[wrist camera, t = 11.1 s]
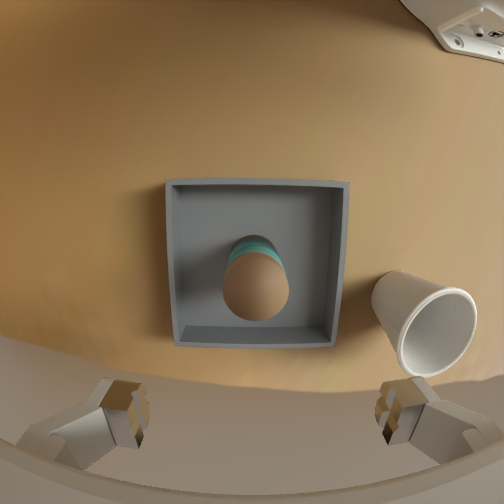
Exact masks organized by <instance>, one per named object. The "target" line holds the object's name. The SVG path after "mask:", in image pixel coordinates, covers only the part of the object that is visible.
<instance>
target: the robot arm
mask: <svg viewBox="0 0 504 504" xmlns="http://www.w3.org/2000/svg"><path fill="white" fill-rule="evenodd" d="M400 1H401V2H402V3H403V4H404V5H405V7H406V8H407V9H408V10H409V11H410V12H411V13H412V14H414V15H415V16H416V17H417V18H418V19H419V20H420V21H422V22H423V23H424V24H425V25H426V26H427V27H428V28H429V29H430V30H431V31H432V33H433V34H434V35H435V37H436V38H437V40H438V41H439V43H440V44H441V45H442V46H443V48H444V49H446V50H447V51H449V52H453V53H459V54H465V55H470V56H475V57H480V58H485V59H489V60H493V61H498V62H502V63H504V0H400ZM455 42H456V43H457V44H456V43H455ZM380 393H381V395H382V396H381V397H380V398H379V399H378V400H377V402H376V406H375V418H376V421H377V423H378V425H379V426H381V427H383V428H384V429H383V432H382V434H383V436H384V438H385V440H386V443H387V445H394V444H399V443H404V442H409V443H411V444H412V445H413V446H415V447H416V448H417V449H419V450H420V451H422V452H423V453H424V454H426V455H427V456H429V457H430V458H432V459H433V460H435V461H436V462H438V463H439V464H440V465H438V466H435V467H433V468H429V469H426V470H422V471H419V472H416V473H412V474H408V475H405V476H401V477H397V478H393V479H389V480H385V481H380V482H375V483H371V484H365V485H360V486H354V487H348V488H341V489H335V490H327V491H318V492H309V493H297V494H280V495H279V494H278V495H227V494H208V493H197V492H186V491H179V490H171V489H164V488H157V487H151V486H146V485H140V484H135V483H130V482H126V481H120V480H117V479H112V478H108V477H104V476H101V475H97V474H93V473H90V472H86V471H84V470H85V469H87V468H88V467H89V466H91V465H92V464H93V463H95V462H96V461H98V460H99V459H100V458H102V457H103V456H104V455H106V454H107V453H108V452H110V451H111V450H112V449H114V448H115V447H116V446H122V447H128V448H135V449H139V448H140V445H141V442H142V440H143V437H144V435H143V431H142V430H144V429H145V428H147V426H148V424H149V419H150V407H149V403H148V402H147V401H146V400H145V399H144V397H145V395H146V389H145V386H144V385H143V384H142V383H135V382H129V381H123V380H115V379H110V378H102V379H101V380H100V381H99V383H98V384H97V386H96V387H95V389H94V390H93V392H92V393H91V395H90V396H89V398H88V399H87V401H86V402H85V404H83V403H80V404H78V405H75V406H73V407H71V408H69V409H67V410H64V411H62V412H60V413H57V414H55V415H53V416H51V417H48V418H46V419H44V420H41V421H39V422H37V423H35V424H32V425H30V426H29V427H28V429H27V430H26V431H25V433H24V434H23V435H22V437H21V438H20V439H19V441H18V442H17V443H16V445H13V444H11V443H9V442H7V441H5V440H3V439H1V438H0V504H504V433H503V431H502V430H501V429H500V428H499V426H498V425H497V424H496V423H495V422H494V421H493V419H490V418H488V417H485V416H483V415H480V414H478V413H475V412H473V411H470V410H468V409H466V408H463V407H461V406H458V405H456V404H454V403H451V402H449V401H447V400H440V399H439V397H438V396H437V395H436V393H435V392H434V391H433V390H432V388H431V387H430V386H429V384H428V383H427V382H426V381H425V379H424V378H423V377H422V376H416V377H410V378H407V379H401V380H394V381H388V382H383V384H382V385H381V388H380Z"/></svg>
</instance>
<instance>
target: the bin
mask: <svg viewBox="0 0 504 504" xmlns="http://www.w3.org/2000/svg"><path fill="white" fill-rule="evenodd" d="M349 184H350V182H340V181H322V180H300V179H266V178H191V179H165V190H166V234H167V257H168V275H169V290H170V303H171V315H172V326H173V336H174V346H184V347H204V348H239V349H284V348H319V347H335V344H336V337H337V330H338V322H339V314H340V306H341V297H342V288H343V278H344V267H345V256H346V242H347V227H348V209H349ZM248 235H260V236H263V237H265V238H267V239H268V240H270V241H271V242H272V243H273V245H274V246H275V248H276V250H277V252H278V255H279V257H280V260H281V262H282V265H283V268H284V270H285V273H286V278H287V281H288V285H289V295H288V299H287V301H286V304H285V305H284V307H283V308H282V309H281V311H280V312H279V313H277V314H276V315H275V316H273V317H271V318H269V319H266V320H262V321H249V320H245V319H242V318H240V317H238V316H236V315H235V314H234V313H233V312H232V311H231V310H230V309H229V308H228V307H227V305H226V303H225V301H224V298H223V292H222V290H223V282H224V276H225V271H226V268H227V264H228V260H229V256H230V254H231V251H232V248H233V246H234V245H235V243H236V242H237V241H238V240H240V239H241V238H243V237H245V236H248Z"/></svg>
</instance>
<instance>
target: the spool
mask: <svg viewBox="0 0 504 504" xmlns="http://www.w3.org/2000/svg"><path fill="white" fill-rule="evenodd" d="M222 292H223V298H224V301H225V303H226V305H227V307H228V308H229V309H230V310H231V311H232V312H233V313H234V314H235V315H236V316H238V317H240V318H242V319H245V320H249V321H262V320H266V319H269V318H271V317H273V316H275V315H276V314H277V313H279V312H280V311H281V309H282V308H283V307H284V305H285V304H286V301H287V299H288V295H289V285H288V281H287V278H286V273H285V270H284V268H283V265H282V262H281V260H280V257H279V255H278V252H277V250H276V248H275V246H274V245H273V243H272V242H271V241H270V240H268V239H267V238H265V237H263V236H260V235H248V236H245V237H243V238H241V239H240V240H238V241H237V242H236V243H235V245H234V246H233V248H232V251H231V254H230V256H229V260H228V264H227V268H226V271H225V276H224V282H223V290H222Z"/></svg>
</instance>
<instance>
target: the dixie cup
mask: <svg viewBox="0 0 504 504" xmlns="http://www.w3.org/2000/svg"><path fill="white" fill-rule="evenodd" d="M371 305H372V308H373V310H374V312H375V314H376V316H377V318H378V319H379V321H380V323H381V325H382V327H383V329H384V331H385V333H386V334H387V336H388V338H389V340H390V342H391V344H392V346H393V348H394V350H395V352H396V354H397V359H398V363H399V365H400V367H401V368H402V369H403V371H404V372H406V373H407V374H408V375H410V376H413V377H416V376H422V377H423V378H427V377H432V376H435V375H437V374H440V373H442V372H443V371H445V370H447V369H448V368H450V367H451V366H452V365H453V364H454V363H456V362H457V361H458V360H459V358H460V357H461V356H462V355H463V354H464V352H465V351H466V349H467V348H468V346H469V344H470V342H471V340H472V338H473V335H474V332H475V328H476V322H477V311H476V306H475V303H474V301H473V299H472V297H471V296H470V295H469V294H468V293H467V292H466V291H464V290H462V289H459V288H455V287H447V286H444V285H441V284H438V283H436V282H433V281H430V280H427V279H425V278H422V277H419V276H416V275H413V274H411V273H408V272H405V271H401V270H395V271H391V272H389V273H387V274H385V275H384V276H383V277H381V278H380V279H379V281H378V282H377V283H376V285H375V287H374V289H373V292H372V295H371Z"/></svg>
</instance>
